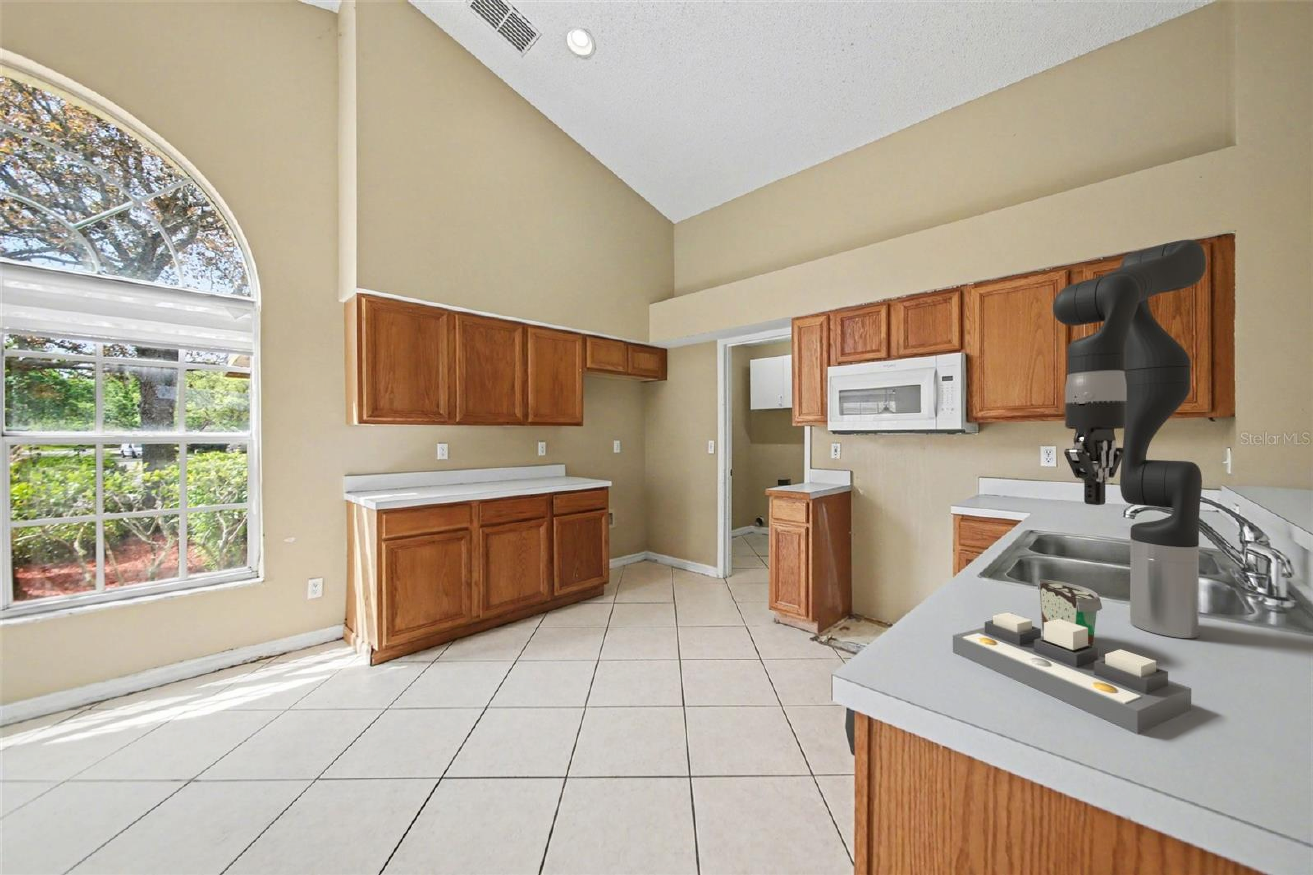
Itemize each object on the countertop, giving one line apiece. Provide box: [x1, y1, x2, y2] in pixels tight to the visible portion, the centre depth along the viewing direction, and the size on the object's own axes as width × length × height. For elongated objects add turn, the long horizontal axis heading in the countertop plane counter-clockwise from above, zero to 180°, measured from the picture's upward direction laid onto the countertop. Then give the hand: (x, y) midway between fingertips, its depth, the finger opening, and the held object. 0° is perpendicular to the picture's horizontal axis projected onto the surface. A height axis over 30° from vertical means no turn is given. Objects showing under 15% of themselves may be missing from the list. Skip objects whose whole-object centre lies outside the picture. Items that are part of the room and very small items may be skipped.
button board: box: [952, 619, 1192, 735], centre depth 76 cm, size 14×25×5 cm, turn 22°
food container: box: [1037, 579, 1103, 647], centre depth 88 cm, size 12×6×10 cm, turn 168°
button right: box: [1104, 648, 1157, 678], centre depth 69 cm, size 4×4×3 cm
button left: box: [992, 612, 1033, 633], centre depth 84 cm, size 4×4×3 cm
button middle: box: [1043, 619, 1088, 650], centre depth 76 cm, size 4×4×3 cm
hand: (1094, 504), depth 79 cm, fingers closed
